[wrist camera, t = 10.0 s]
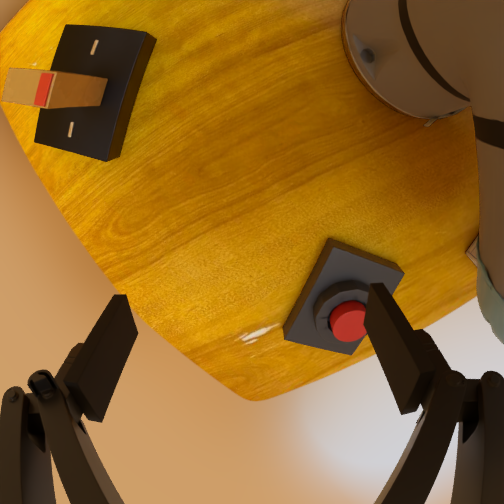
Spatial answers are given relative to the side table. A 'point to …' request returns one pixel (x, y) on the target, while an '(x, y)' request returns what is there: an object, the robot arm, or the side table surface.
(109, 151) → the lock plate
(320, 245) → the side table surface
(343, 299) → the box
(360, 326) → the release button
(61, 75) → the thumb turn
